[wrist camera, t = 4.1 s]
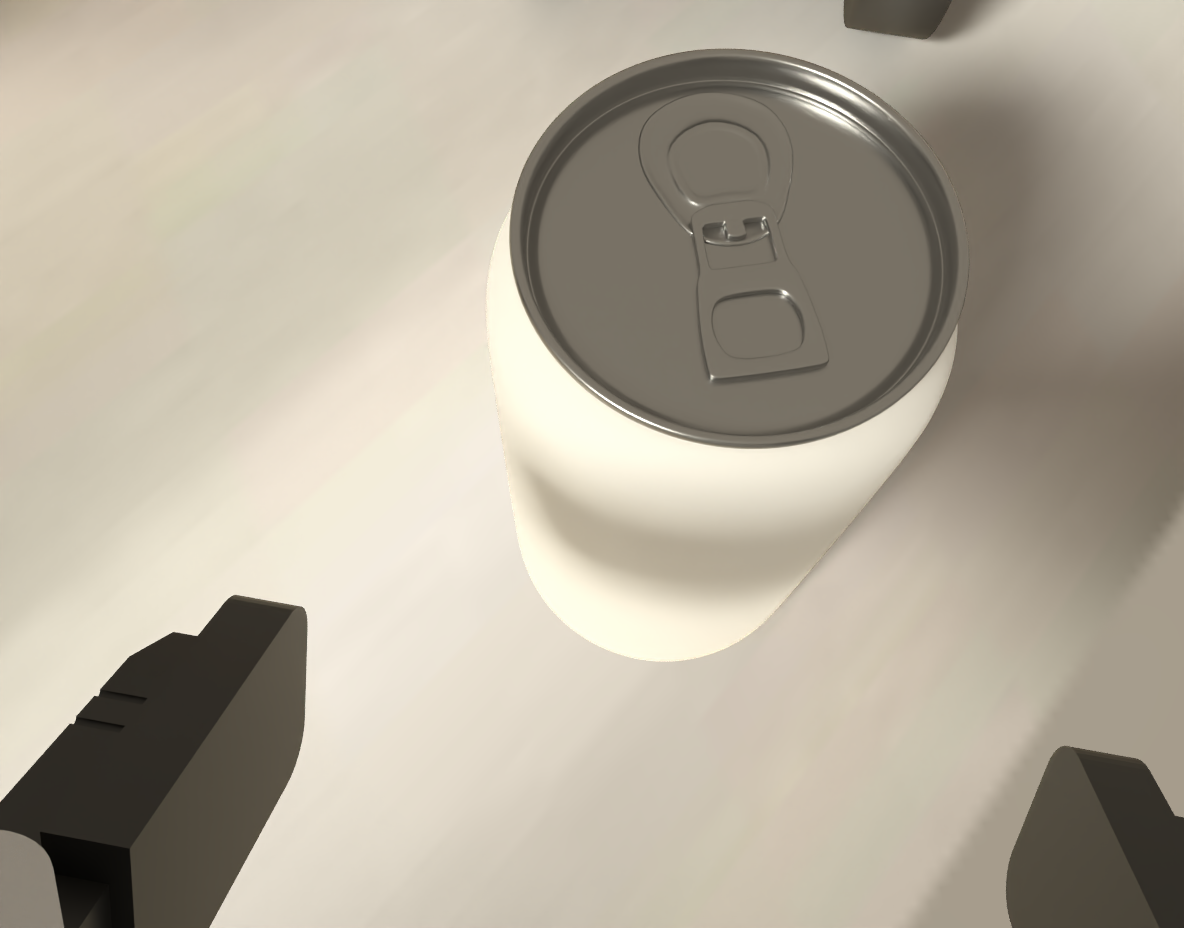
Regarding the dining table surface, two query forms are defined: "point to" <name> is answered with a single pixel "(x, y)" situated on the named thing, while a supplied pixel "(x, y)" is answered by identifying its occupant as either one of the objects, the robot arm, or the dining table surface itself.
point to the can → (714, 338)
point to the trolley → (896, 16)
